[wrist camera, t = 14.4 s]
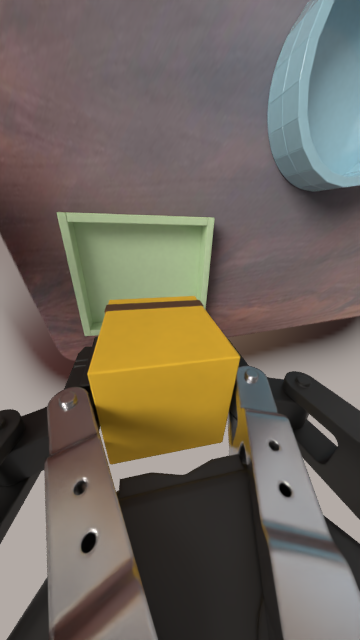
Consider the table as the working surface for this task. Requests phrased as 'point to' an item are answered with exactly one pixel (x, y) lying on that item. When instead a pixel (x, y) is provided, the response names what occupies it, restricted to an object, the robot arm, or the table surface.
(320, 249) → the table surface
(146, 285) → the tray
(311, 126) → the bowl
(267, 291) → the table surface
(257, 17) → the table surface
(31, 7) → the table surface
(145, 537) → the robot arm
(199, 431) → the block
